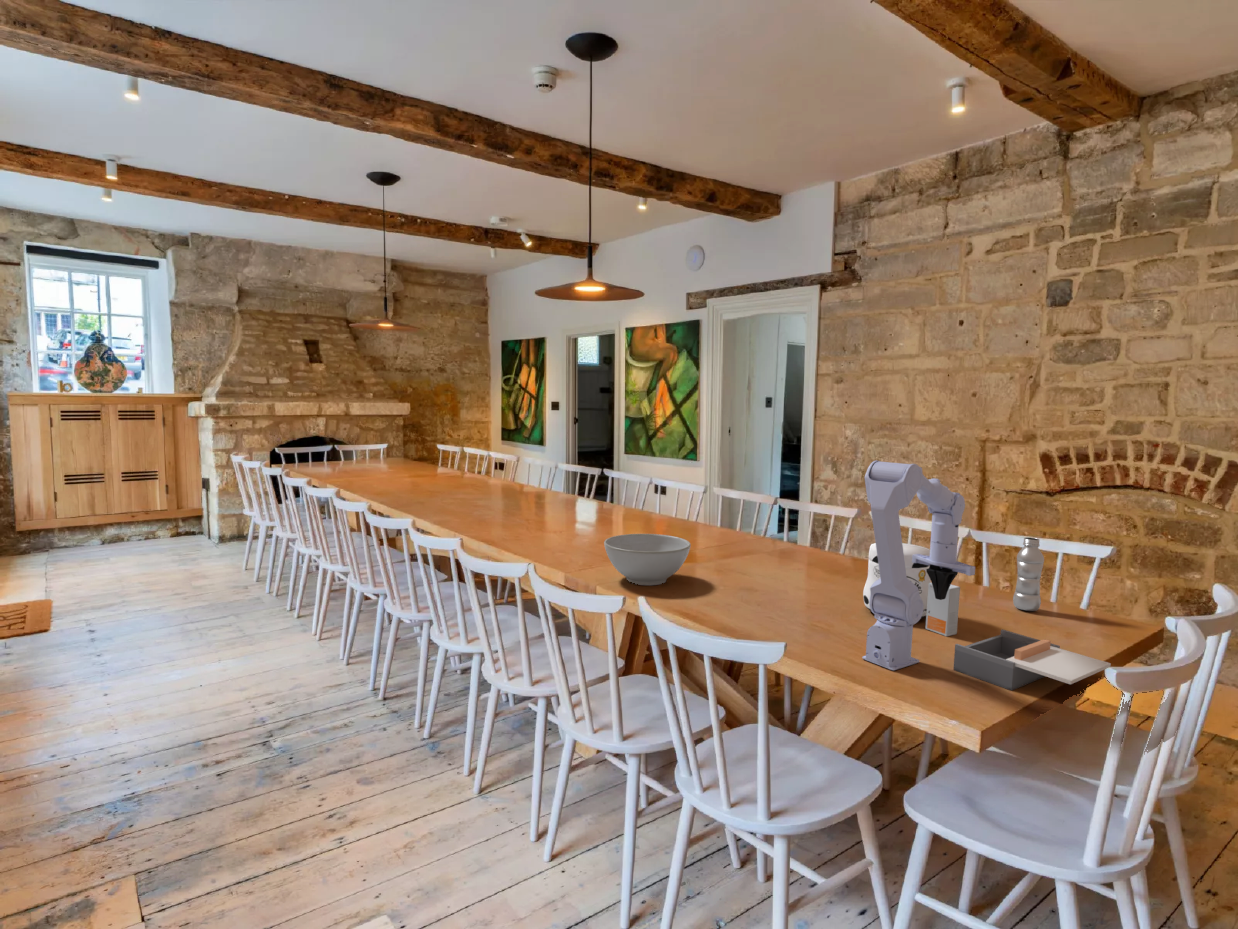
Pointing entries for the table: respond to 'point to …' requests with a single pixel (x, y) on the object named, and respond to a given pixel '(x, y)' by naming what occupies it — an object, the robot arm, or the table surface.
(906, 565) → the milk container
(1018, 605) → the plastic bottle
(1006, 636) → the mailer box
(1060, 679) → the lid
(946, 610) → the skincare box
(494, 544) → the table surface
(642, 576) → the decorative bowl
